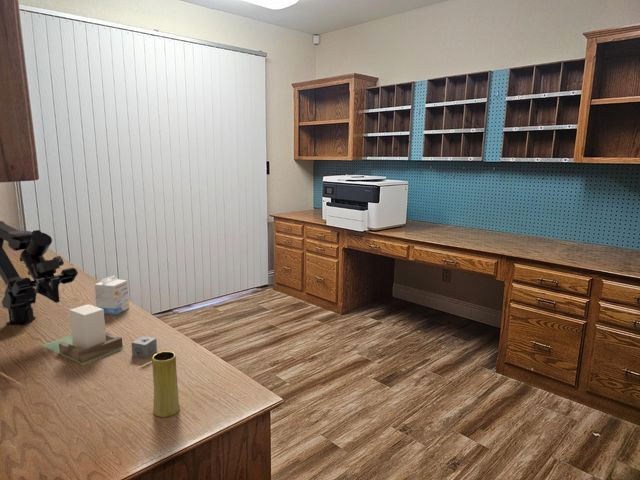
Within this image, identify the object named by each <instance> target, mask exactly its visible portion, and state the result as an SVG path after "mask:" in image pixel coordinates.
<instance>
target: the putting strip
mask: <svg viewBox="0 0 640 480" xmlns="http://www.w3.org/2000/svg"><path fill="white" fill-rule="evenodd" d="M61 342H66V343H68V344H71V345H73V344H72V334H71V335H68V336H65V337H61V338H58V339H56V340H53V341H50V342H47V343H43V344H41V345H40V346H41V347H43V348H46V349H47V350H50V351H52V352H54V353H56V354H59V355H61V356H62V357H65V358H67V359H69V360H72V361H74V362H76V363H78V364H81V365H83V366H85V365H88V364H89V363H92V362H95V361H97V360H100V359H102V358H104V357H107V356H109V355H112V354H114V353H116V352H119V351H121V350H124V349H126V348H127V346H125V345H123V347H120V348H118V349H115V350H113V351H111V352H108V353H106V354H103V355H101V356H98V357H96V358H93V359H91V360H89V361H86V362H84V363H82V362H80V361H77V360H75V359H73V358H71V357H69V356H66V355H64V354H62V353H60V351H59V343H61Z"/></svg>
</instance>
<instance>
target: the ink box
mask: <svg viewBox="0 0 640 480" xmlns="http://www.w3.org/2000/svg"><path fill="white" fill-rule="evenodd" d="M94 294H95V307H98V308H101V309H104V315H114V316H117V315H118V314H121V313H123V312H125V311H126V310H128V309H129V308H130V301H129V300H130V299H129V287H128V280H126V279H119V278H118V277H117V276H116V275H110V276H108V277H105V278H102V279H100V281H99V282H97V283H95V284H94Z"/></svg>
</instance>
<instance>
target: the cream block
mask: <svg viewBox="0 0 640 480" xmlns="http://www.w3.org/2000/svg"><path fill="white" fill-rule="evenodd" d="M68 313H69V321H70V331H71V335H72V344H73V346H75V347H78V348H80V349H82V350H86V349H88V348H91V347H93V346H96V345H99V344H101V343H104V342H106V333H105V332H106V324H105V323H106V321H105V314H104V309H101V308H98V307H96V305H95V306H94V305H92V304H88V303H87V304H84V305H82V306H77V307H74V308H71V309H69V312H68Z"/></svg>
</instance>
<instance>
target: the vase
mask: <svg viewBox="0 0 640 480" xmlns="http://www.w3.org/2000/svg"><path fill="white" fill-rule="evenodd" d="M151 363H152V381H153V382H152V383H153V404H152V405H153V408H152V412H153V415H155V416H156V417H158V418H159V417H160V418H167V417H171V416H173V415H176V413H178V412H179V411H180V407H181V406H180V402H179V399H180V398H179V385H178V375H177V373H178V372H177V371H178V370H177V356H176V353H175V352H174V351H171V350H170V351H169V350H167V351H166V350H164V351H160V352H159V351H158V352H156V353H154V354H153V355H152V357H151Z"/></svg>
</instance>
